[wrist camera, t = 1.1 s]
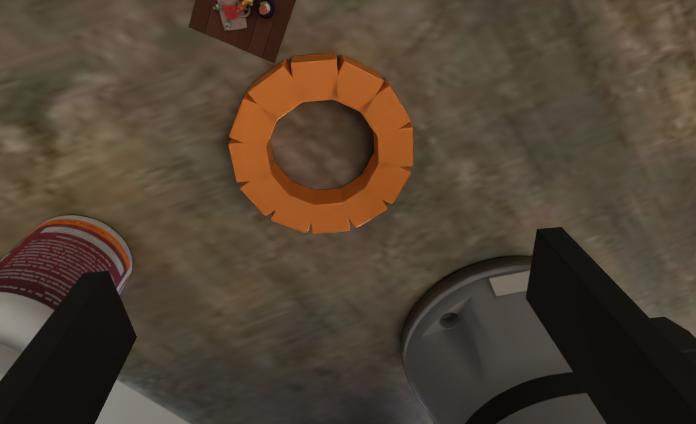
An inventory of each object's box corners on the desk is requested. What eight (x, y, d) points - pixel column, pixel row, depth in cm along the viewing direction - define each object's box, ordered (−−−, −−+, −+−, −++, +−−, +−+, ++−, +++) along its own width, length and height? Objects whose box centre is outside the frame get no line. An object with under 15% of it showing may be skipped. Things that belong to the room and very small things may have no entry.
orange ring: (407, 209, 28) (413, 225, 26) (252, 224, 28) (248, 240, 26) (406, 46, 23) (413, 52, 22) (219, 62, 23) (212, 69, 21)
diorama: (289, -27, 21) (287, -27, 19) (265, 47, 23) (261, 54, 21) (230, -55, 21) (221, -58, 19) (209, 23, 22) (200, 28, 20)
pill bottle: (26, 204, 26) (-142, 339, 17) (134, 218, 27) (34, 354, 17) (39, 285, 29) (-97, 440, 19) (136, 296, 30) (52, 448, 20)
